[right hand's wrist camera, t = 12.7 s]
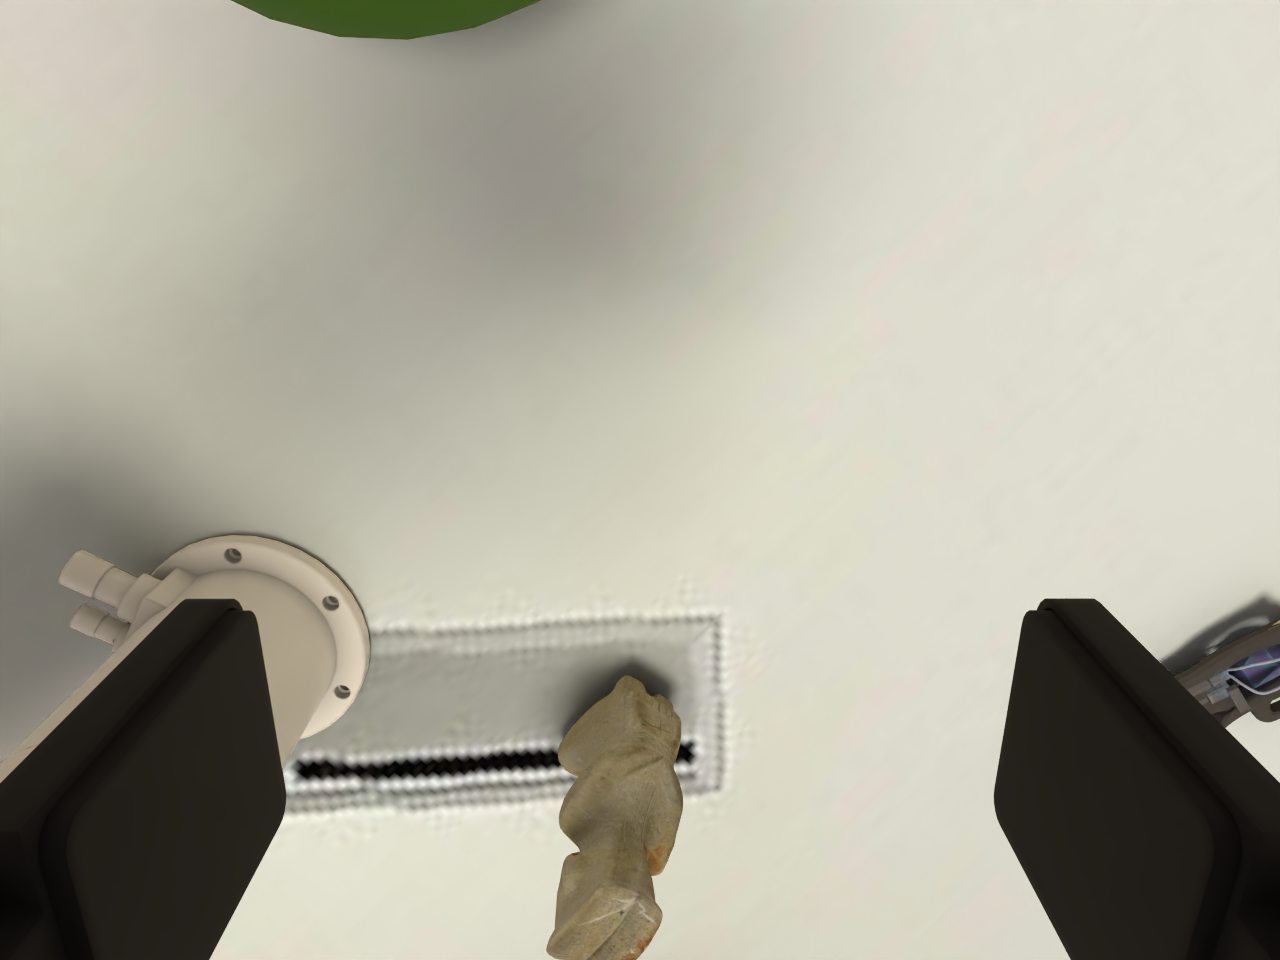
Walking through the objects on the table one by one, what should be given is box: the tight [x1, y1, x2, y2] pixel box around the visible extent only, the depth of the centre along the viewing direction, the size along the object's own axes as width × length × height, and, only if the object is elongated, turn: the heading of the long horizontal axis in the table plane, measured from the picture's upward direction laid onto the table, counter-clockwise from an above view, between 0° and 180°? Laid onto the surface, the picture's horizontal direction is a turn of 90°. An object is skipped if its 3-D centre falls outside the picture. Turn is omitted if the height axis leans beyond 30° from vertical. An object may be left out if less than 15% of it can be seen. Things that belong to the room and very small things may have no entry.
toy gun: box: [1174, 620, 1280, 728], centre depth 50 cm, size 3×19×10 cm
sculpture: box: [547, 675, 683, 960], centre depth 45 cm, size 6×7×15 cm
